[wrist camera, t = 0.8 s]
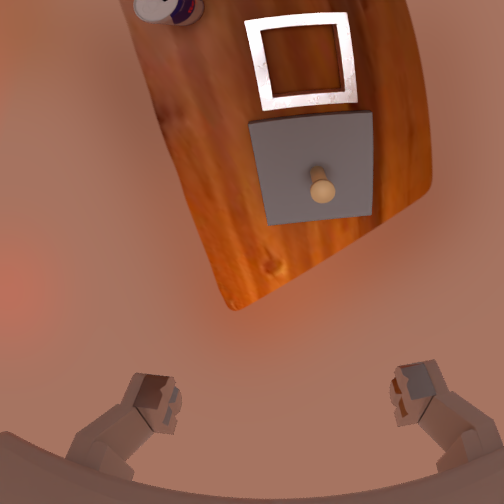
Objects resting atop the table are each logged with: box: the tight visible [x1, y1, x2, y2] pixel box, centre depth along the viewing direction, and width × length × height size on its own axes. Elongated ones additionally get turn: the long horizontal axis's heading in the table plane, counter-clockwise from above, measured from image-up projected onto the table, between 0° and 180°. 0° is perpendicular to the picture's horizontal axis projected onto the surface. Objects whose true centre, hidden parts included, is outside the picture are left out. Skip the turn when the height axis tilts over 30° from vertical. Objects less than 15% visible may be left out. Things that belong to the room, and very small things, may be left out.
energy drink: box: [134, 0, 204, 26], centre depth 25 cm, size 5×5×12 cm
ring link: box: [245, 13, 358, 111], centre depth 33 cm, size 13×13×3 cm
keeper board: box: [248, 110, 373, 226], centre depth 42 cm, size 18×18×8 cm
